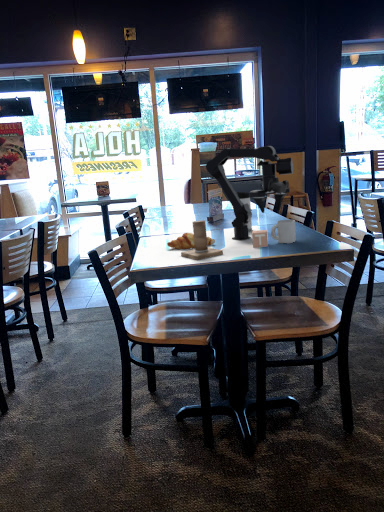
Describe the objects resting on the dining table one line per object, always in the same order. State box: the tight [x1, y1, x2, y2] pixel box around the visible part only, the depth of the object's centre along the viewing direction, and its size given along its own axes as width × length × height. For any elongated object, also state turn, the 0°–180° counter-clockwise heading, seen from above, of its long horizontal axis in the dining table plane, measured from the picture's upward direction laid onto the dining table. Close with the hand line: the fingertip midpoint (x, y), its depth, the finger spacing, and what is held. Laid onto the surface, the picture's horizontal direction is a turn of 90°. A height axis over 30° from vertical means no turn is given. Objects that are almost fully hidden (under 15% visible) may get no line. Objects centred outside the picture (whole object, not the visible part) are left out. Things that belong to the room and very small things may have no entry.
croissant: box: [166, 232, 216, 250], centre depth 182 cm, size 21×10×8 cm, turn 93°
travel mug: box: [235, 191, 253, 232], centre depth 209 cm, size 6×7×20 cm
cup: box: [270, 219, 297, 244], centre depth 173 cm, size 7×10×9 cm
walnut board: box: [180, 247, 224, 261], centre depth 164 cm, size 12×12×2 cm
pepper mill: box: [192, 219, 209, 253], centre depth 163 cm, size 5×5×12 cm
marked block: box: [251, 229, 269, 248], centre depth 171 cm, size 6×6×6 cm
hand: (271, 211), depth 182 cm, fingers open, 9 cm apart
